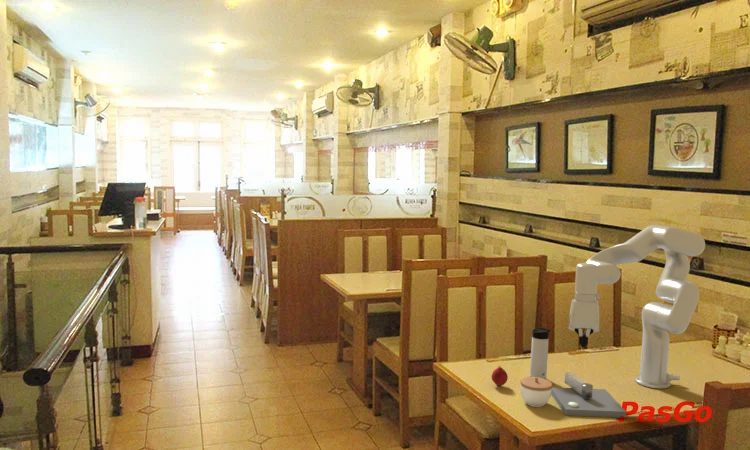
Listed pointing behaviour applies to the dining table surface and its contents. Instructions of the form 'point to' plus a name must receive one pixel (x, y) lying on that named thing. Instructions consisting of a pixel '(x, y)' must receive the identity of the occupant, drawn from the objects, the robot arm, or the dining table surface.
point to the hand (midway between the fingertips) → (582, 346)
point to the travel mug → (539, 353)
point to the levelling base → (587, 403)
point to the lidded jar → (536, 391)
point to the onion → (499, 376)
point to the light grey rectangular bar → (579, 385)
